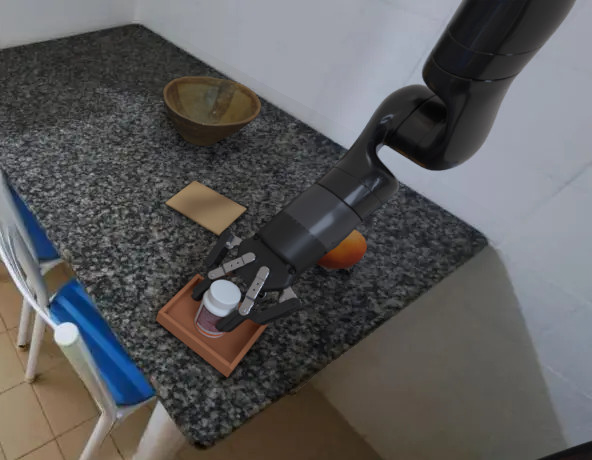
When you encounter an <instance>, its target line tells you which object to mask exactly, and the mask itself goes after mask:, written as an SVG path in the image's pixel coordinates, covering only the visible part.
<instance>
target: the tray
mask: <svg viewBox="0 0 592 460" xmlns="http://www.w3.org/2000/svg"><path fill="white" fill-rule="evenodd" d="M204 278H205V277H203V275H201V274H199V273H196V275H194V277H193V278H191V279H190V280H189V281H188V282H187V283H186V284H185V285H184V286H183V287H182V288H181V289H180V290H179V291H178V292H177V293H176V294H175V295H174V296H173V297H172V298H171V299H170V300H168V302H167V303H166V304H165V305H164V306H162V307H161V308H160V310H158V312H157V316H156V318H155V321H156V323H158V324H159V325H161V326H162V327H163V328H164V329H165V330H167V331H168V332H170V333H171V334H172V335H173V336H175V337H176V338H177V339H178V340H179V341H181V343H183V344H184V345H186V346H187V347H188V348H189V349H191V350H192V351H193V352H194V353H196V354H197V355H198V356H200V357H201V358H202V359H203V360H205V361H206V362H207V363H208V364H209V365H211V366H212V367H213V368H214V369H216V371H218V372H220V373H221V374H222V375H223V376H224V377H226V378H229V376H230V375H231V374H232V372H233V371H234V370H235V368H236V367H237V366H238V364H239V363H240V362H241V361H242V360H243V358H244V357H245V356H246V354H247V353H248V352H249V350H250V349H251V348H252V346H253V345H254V344H255V343H256V342H257V340H258V339H259V337H260V336H261V335H262V334H263V333H264V331H265V330H266V328H267V327H268V325H269V324H266V325H259V324H256V323H254V322H253V321H252V320H250V319H247V320H245V321H244V322H243V323H242V324H240V325H239V326H238V327H237V328H236V329H234V330H233V331H232V332H229V333H227V332H225V333H224V334H223V335H222V336H220V337H217V338H211V337H207V336H205V335H203V334H202V333H200V332H199V331H198V329H197V328H196V326H195V323H194V318H195V315H196V312H197V310H198V308H199V305H200V303H201V301H199V302H197V301H194V300H193V298H192V297H191V295H192V294H193V292H192V290H193V288H194V287H195V286H197V285H198V284H199V283H200V282H201V281H202V280H203V279H204ZM242 303H243V302H242ZM242 303H241V302H240V301H239V307H238V310H239V308H240V306H241V305H242Z"/></svg>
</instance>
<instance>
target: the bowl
mask: <svg viewBox="0 0 592 460" xmlns="http://www.w3.org/2000/svg"><path fill="white" fill-rule="evenodd" d="M162 99H163V104H164V107H165V110H166V112H167V115H168V117H169V119H170V121H171V123H172V125H173V126H174V128H175V129H176V131H177V132H178V133H179V135H180V137H181V138H182V139H183V140H184V141H186V142H187V143H189V144H192V145H195V146H199V147H203V146H204V147H208V146H212V145H214V144H216V143H218V142H220V141H222V140H224V139H227V138H228V137H230V136H232V135H234V134H236V133H237V132H238V131H240V130H242V129H243V128H245V127H246V126H247V125H249V124H250V123H252V121H254V120H255V119H256V118H257V117H258V116H259V114H260V112H261V110H262V103H261V100H260V98H259V96H258V95H257V93H256V92H255V91H253V90H252V88H249V87H248V86H246V85H244V84H241V83H239V82H237V81H234V80H231V79H225V78H217V77H213V76H206V75H205V76H204V75H201V76H191V75H188V76H181V77H177V78H174V79H172V80H171V81H169V82H168V83H167V84H166V85H165V86H164V87H163V90H162Z"/></svg>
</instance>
